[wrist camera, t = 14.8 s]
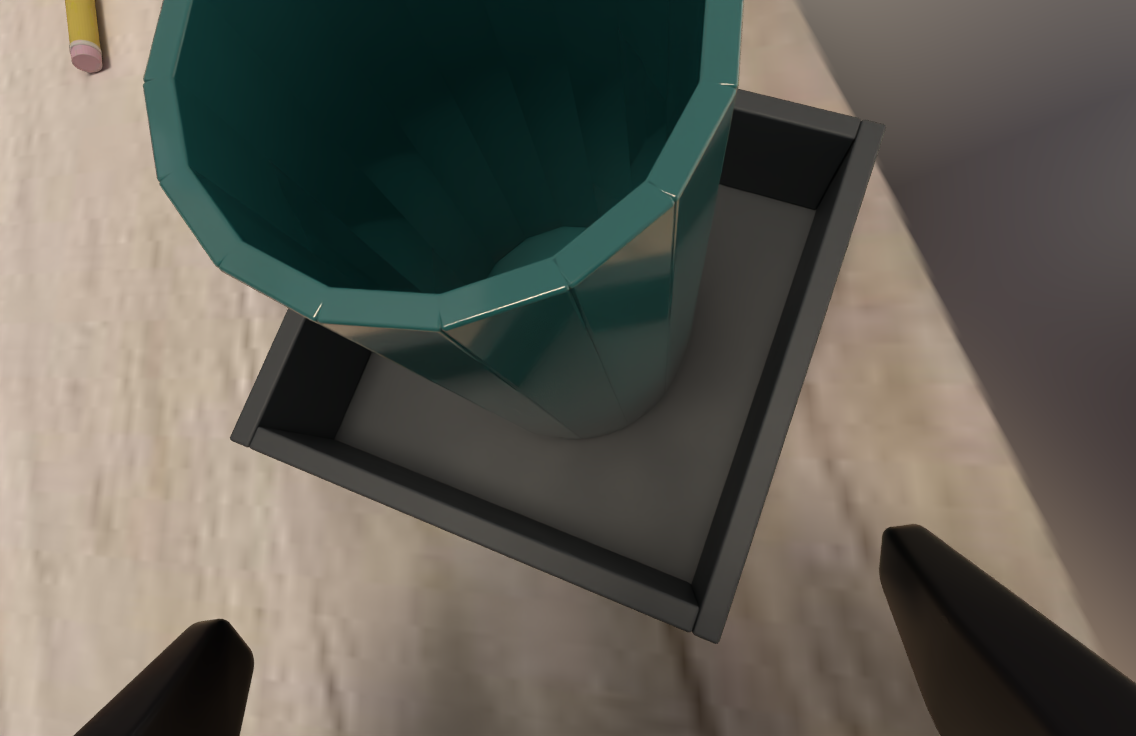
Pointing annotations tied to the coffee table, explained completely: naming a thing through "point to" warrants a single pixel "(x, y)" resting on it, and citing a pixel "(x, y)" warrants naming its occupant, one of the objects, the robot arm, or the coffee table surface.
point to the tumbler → (461, 181)
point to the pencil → (83, 35)
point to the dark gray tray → (637, 452)
